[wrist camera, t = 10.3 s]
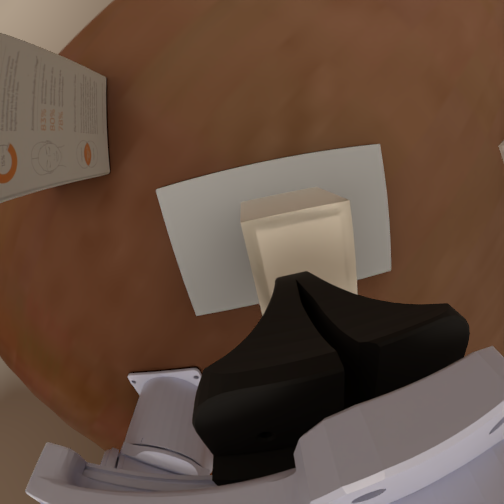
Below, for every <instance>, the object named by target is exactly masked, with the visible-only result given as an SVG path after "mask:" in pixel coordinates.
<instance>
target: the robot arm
mask: <svg viewBox="0 0 504 504" xmlns="http://www.w3.org/2000/svg"><path fill="white" fill-rule="evenodd" d="M469 334H470V332H469V325H468V323H467V321H466V319H465V318H464V317H463V316H461V315H460V314H459V313H458V312H457V311H456V310H455V309H453V308H452V307H451V306H450V305H449V304H447V303H445V304H423V305H418V304H401V303H392V302H386V301H380V300H375V299H371V298H367V297H364V296H360V295H357V294H354V293H351V292H349V291H346V290H344V289H341V288H339V287H337V286H334V285H332V284H330V283H328V282H326V281H324V280H323V279H321V278H319V277H317V276H315V275H313V274H312V273H310V272H308V271H304V272H300V273H295V274H291V275H286V276H282V277H277V278H276V280H275V286H274V290H273V294H272V297H271V299H270V302H269V304H268V306H267V308H266V310H265V312H264V314H263V316H262V318H261V319H260V321H259V322H258V324H257V325H256V327H255V328H254V329H253V331H252V332H251V333H250V334H249V335H248V336H247V337H246V339H245V340H244V341H242V342H241V343H240V344H239V345H238V346H237V347H236V348H235V349H233V350H232V351H231V352H230V353H228V354H227V355H226V356H224V357H223V358H221V359H219V360H218V361H216V362H215V363H213V364H212V365H210V366H208V367H207V368H205V369H204V370H203V373H202V374H201V372H200V370H199V369H197V368H187V369H178V370H168V371H156V372H142V373H129V375H128V379H129V381H130V382H131V384H132V385H133V387H134V388H135V390H136V391H137V393H138V394H139V395H140V396H139V399H138V402H137V405H136V408H135V411H134V414H133V417H132V420H131V423H130V426H129V429H128V432H127V435H126V438H125V441H124V443H123V446H122V448H121V451H120V453H118V452H119V450H118V449H116V448H112V449H111V450H110V449H109V450H106V451H105V453H104V456H103V459H102V461H101V464H100V465H97V464H92V463H88V462H86V461H85V460H84V459H83V458H82V457H81V456H80V455H79V454H78V453H76V452H75V451H73V450H72V449H69V448H67V447H64V446H61V445H57V444H54V443H51V442H47V443H46V445H45V447H44V449H43V451H42V453H41V455H40V458H39V460H38V462H37V464H36V466H35V469H34V471H33V473H32V476H31V478H30V480H29V483H28V485H27V488H26V490H25V491H26V493H27V494H28V495H29V496H31V497H32V498H34V499H35V500H37V501H38V502H40V503H41V504H504V357H503V356H502V355H501V354H500V353H499V352H498V351H497V350H496V349H495V348H494V347H493V346H491V347H487V348H484V349H481V350H478V351H475V352H472V353H470V354H469V355H467V356H465V357H464V355H465V352H466V348H467V345H468V340H469ZM212 470H213V471H212ZM211 472H212V475H210V473H211Z"/></svg>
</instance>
